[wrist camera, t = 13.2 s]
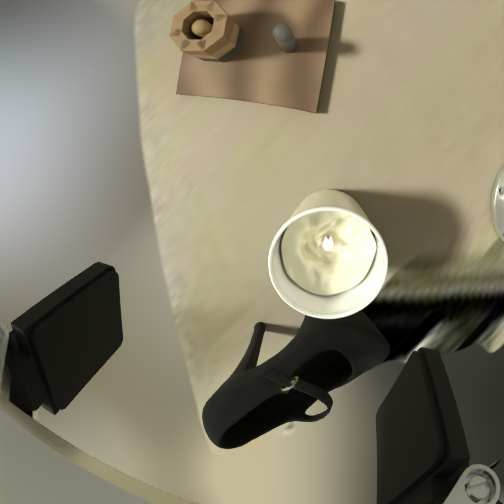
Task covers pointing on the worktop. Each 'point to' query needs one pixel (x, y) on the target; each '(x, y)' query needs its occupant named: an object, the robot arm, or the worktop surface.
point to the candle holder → (328, 257)
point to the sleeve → (213, 44)
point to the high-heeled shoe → (292, 378)
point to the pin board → (266, 54)
